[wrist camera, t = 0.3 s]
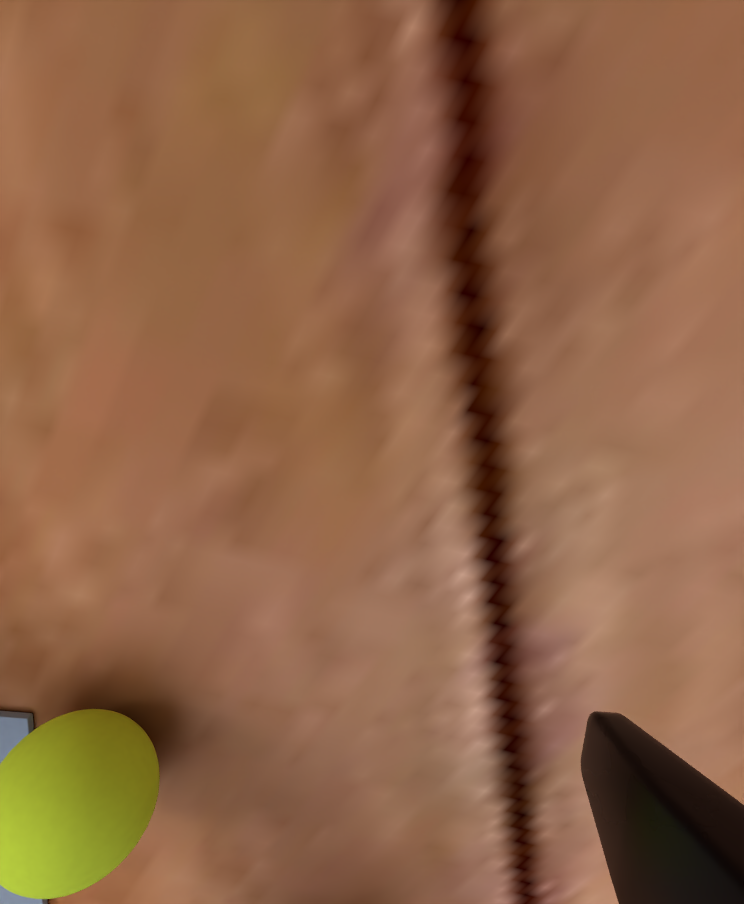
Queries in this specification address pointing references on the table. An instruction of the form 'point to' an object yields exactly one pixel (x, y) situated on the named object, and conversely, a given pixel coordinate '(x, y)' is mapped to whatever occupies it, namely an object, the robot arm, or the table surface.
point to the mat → (3, 735)
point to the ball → (74, 802)
